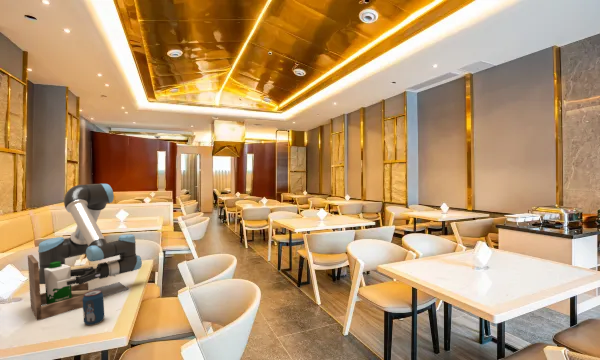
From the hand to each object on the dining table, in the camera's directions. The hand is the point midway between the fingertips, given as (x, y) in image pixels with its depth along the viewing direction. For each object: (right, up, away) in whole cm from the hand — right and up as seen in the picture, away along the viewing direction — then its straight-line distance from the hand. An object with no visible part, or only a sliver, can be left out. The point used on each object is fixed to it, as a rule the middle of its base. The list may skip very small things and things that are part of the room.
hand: (54, 281), depth 137 cm
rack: (+3, -12, +3) cm, 12 cm away
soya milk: (+1, -12, +2) cm, 12 cm away
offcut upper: (+6, -10, +7) cm, 14 cm away
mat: (+13, -11, +19) cm, 25 cm away
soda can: (+28, -12, -15) cm, 34 cm away
